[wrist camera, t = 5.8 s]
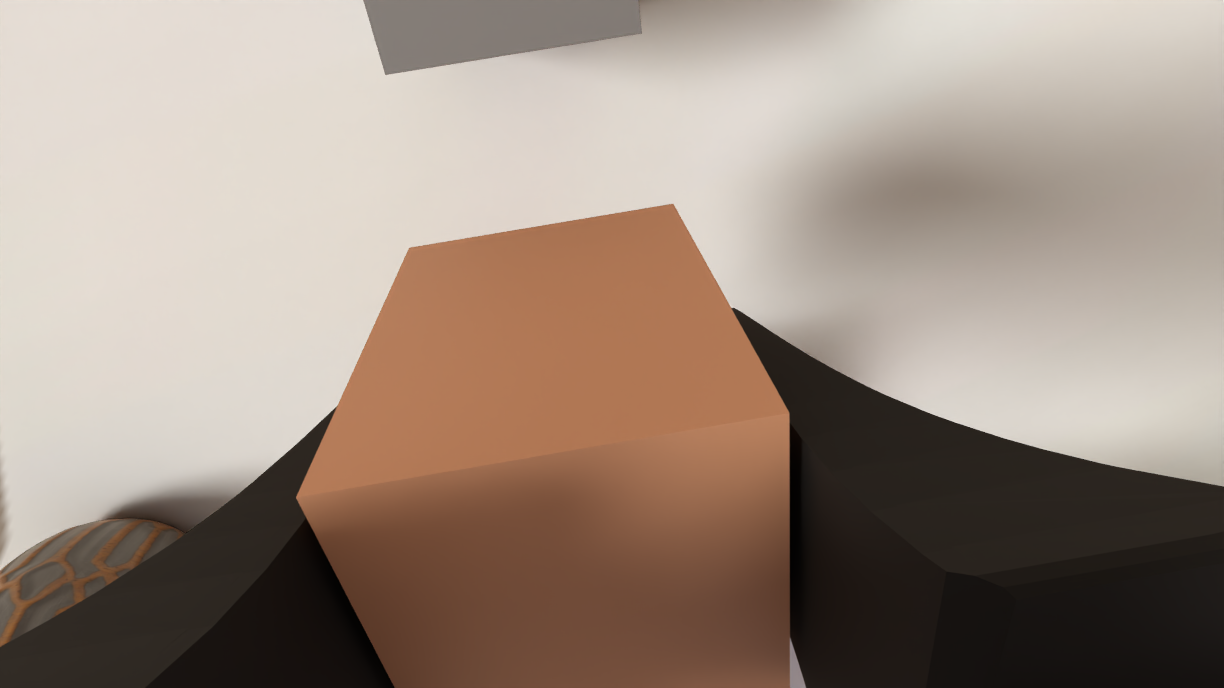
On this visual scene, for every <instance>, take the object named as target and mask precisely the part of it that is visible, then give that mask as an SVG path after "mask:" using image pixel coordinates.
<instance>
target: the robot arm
mask: <svg viewBox="0 0 1224 688" xmlns="http://www.w3.org/2000/svg"><path fill="white" fill-rule="evenodd" d="M731 309H732V311H733V312H734V314H735V316H736V318H737V320H738V321H739V323H740V325H741V327H742V329H743V330H744V332H745V334H746V336H747V338H748V339H749V341H750V343H751V345H752V347H753V348H754V350H755V352H756V354H757V356H758V357H759V359H760V361H761V363H762V365H763V366H764V368H765V370H766V372H767V374H768V375H769V377H770V379H771V381H772V383H773V384H774V386H775V388H776V390H777V391H778V393H779V395H780V397H781V399H782V400H783V402H784V404H785V406H786V408H787V409H788V411H789V444H790V688H1224V487H1223V486H1217V485H1212V484H1206V483H1201V482H1196V481H1190V480H1185V479H1179V478H1174V477H1168V476H1163V475H1158V474H1152V473H1147V472H1141V471H1136V470H1130V469H1125V468H1120V467H1115V466H1110V465H1105V464H1101V463H1097V462H1093V461H1088V460H1084V459H1080V458H1076V457H1072V456H1068V455H1064V454H1060V453H1056V452H1051V451H1047V450H1043V449H1040V448H1036V447H1032V446H1029V445H1025V444H1022V443H1018V442H1015V441H1011V440H1007V439H1004V438H1001V437H998V436H995V435H992V434H988V433H985V432H982V431H979V430H976V429H973V428H970V427H967V426H964V425H961V424H958V423H955V422H952V421H949V420H946V419H944V418H941V417H938V416H935V415H933V414H930V413H927V412H925V411H922V410H920V409H918V408H915V407H913V406H910V405H908V404H906V403H903V402H901V401H898V400H896V399H893V398H891V397H889V396H886V395H884V394H882V393H880V392H878V391H875V390H873V389H871V388H869V387H867V386H865V385H863V384H861V383H859V382H857V381H855V380H853V379H851V378H849V377H847V376H846V375H844V374H842V373H840V372H838V371H836V370H834V369H832V368H830V367H829V366H827V365H825V364H823V363H821V362H820V361H818V360H816V359H814V358H813V357H811V356H809V355H808V354H806V353H804V352H803V351H801V350H799V349H798V348H796V347H794V346H793V345H791V344H790V343H788V342H786V341H785V340H783V339H782V338H780V337H779V336H777V335H775V334H774V333H772V332H771V331H769V330H768V329H766V328H765V327H763V326H762V325H760V324H759V323H757V322H756V321H754V320H753V319H751V318H750V317H748V316H746V315H745V314H743V313H742V312H740V311H739V310H737V309H735V308H731ZM336 408H337V407H336ZM336 408H335V409H334V410H333V411H331V412H330V413H329V414H328V415H327V416H326V417H325V418H324V419H323V420H322V421H321V422H320V423H319V424H318V425H317V426H316V427H315V428H313V429H312V430H311V431H310V432H309V433H308V434H307V435H306V436H305V437H304V438H303V439H302V440H301V441H300V442H299V443H297V444H296V445H295V446H294V447H293V448H292V449H291V450H289V451H288V452H287V453H286V454H285V455H284V456H282V457H281V458H280V459H279V460H278V461H277V462H276V463H274V464H273V465H272V466H271V467H270V468H269V469H267V470H266V471H265V472H264V473H263V474H262V475H261V476H259V477H258V478H257V479H256V480H255V481H254V482H253V483H251V484H250V485H249V486H248V487H247V488H245V489H244V490H243V491H242V492H240V493H239V494H238V495H237V496H235V497H234V498H233V499H232V500H230V501H229V502H228V503H226V504H225V505H224V506H223V507H221V508H220V509H219V510H217V511H216V512H215V513H213V514H212V515H211V516H209V517H208V518H206V519H205V520H204V521H202V522H201V523H200V524H198V525H197V526H196V527H194V528H193V529H191V530H190V531H189V532H187V533H186V534H185V535H183V536H182V537H180V538H179V539H177V540H176V541H175V542H173V543H172V544H170V545H169V546H167V547H166V548H164V549H163V550H161V551H160V552H158V553H156V554H155V555H153V556H152V557H150V558H149V559H147V560H146V561H144V562H142V563H141V564H139V565H138V566H136V567H135V568H133V569H132V570H130V571H128V572H127V573H125V574H124V575H122V576H121V577H119V578H118V579H116V580H114V581H113V582H111V583H110V584H108V585H107V586H105V587H104V588H102V589H101V590H99V591H97V592H96V593H94V594H92V595H91V596H89V597H87V598H86V599H84V600H82V601H81V602H79V603H77V604H75V605H74V606H72V607H70V608H69V609H67V610H65V611H63V612H62V613H60V614H58V615H57V616H55V617H53V618H51V619H50V620H48V621H46V622H44V623H43V624H41V625H39V626H37V627H35V628H34V629H32V630H30V631H28V632H26V633H24V634H23V635H21V636H19V637H17V638H15V639H14V640H12V641H10V642H8V643H6V644H4V645H3V646H1V647H0V688H395V687H394V685H393V683H392V682H391V680H390V678H389V676H388V674H387V672H386V670H385V668H384V666H383V664H382V662H381V660H380V658H379V657H378V655H377V653H376V651H375V649H374V647H373V645H372V643H371V641H370V639H369V637H368V635H367V633H366V631H365V630H364V628H363V626H362V624H361V622H360V620H359V618H358V616H357V614H356V612H355V610H354V608H353V606H352V605H351V603H350V601H349V599H348V597H347V595H346V593H345V591H344V589H343V587H342V585H341V583H340V581H339V579H338V578H337V576H336V574H335V572H334V570H333V568H332V566H331V564H330V562H329V560H328V558H327V556H326V554H325V553H324V551H323V549H322V547H321V545H320V543H319V541H318V539H317V537H316V535H315V533H314V531H313V529H312V528H311V526H310V524H309V522H308V520H307V518H306V516H305V514H304V512H303V510H302V508H301V506H300V504H299V502H298V501H297V499H296V496H297V494H298V492H299V490H300V488H301V485H302V483H303V481H304V479H305V477H306V474H307V472H308V470H309V468H310V466H311V463H312V461H313V459H314V457H315V455H316V452H317V450H318V448H319V446H320V443H321V441H322V439H323V437H324V435H325V432H326V430H327V428H328V426H329V424H330V421H331V419H332V417H333V415H334V413H335V410H336Z"/></svg>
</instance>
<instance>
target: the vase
mask: <svg viewBox="0 0 1224 688" xmlns="http://www.w3.org/2000/svg"><path fill="white" fill-rule="evenodd" d="M183 535H185V533H183V532H182V531H180V530H178V529H176V528H174V527H172V526H169V525H166V524H163V523H160V522H156V521H152V520H146V519H131V518H128V519H111V520H101V521H95V522H91V523H87V524H83V525H80V526H76V527H72V528H69V529H67V530H64V531H62V532H60V533H58V534H56V535H54V536H51V537H49V538H47V539H45V540H43V541H42V542H40V543H38V544H37V545H35V546H33V547H32V548H30V549H29V550H27V551H25V552H24V553H22V554H21V555H20V556H18V557H17V558H16V559H14V560H13V561H11V562H10V563H9V564H7V565H6V566H5V567H4V568H3V569H1V570H0V647H1V646H3V645H4V644H6V643H8V642H10V641H12V640H14V639H15V638H17V637H19V636H21V635H23V634H24V633H26V632H28V631H30V630H32V629H34V628H35V627H37V626H39V625H41V624H43V623H44V622H46V621H48V620H50V619H51V618H53V617H55V616H57V615H58V614H60V613H62V612H63V611H65V610H67V609H69V608H70V607H72V606H74V605H75V604H77V603H79V602H81V601H82V600H84V599H86V598H87V597H89V596H91V595H92V594H94V593H96V592H97V591H99V590H101V589H102V588H104V587H105V586H107V585H108V584H110V583H111V582H113V581H114V580H116V579H118V578H119V577H121V576H122V575H124V574H125V573H127V572H128V571H130V570H132V569H133V568H135V567H136V566H138V565H139V564H141V563H142V562H144V561H146V560H147V559H149V558H150V557H152V556H153V555H155V554H156V553H158V552H160V551H161V550H163V549H164V548H166V547H167V546H169V545H170V544H172V543H173V542H175V541H176V540H177V539H179V538H180V537H182V536H183Z"/></svg>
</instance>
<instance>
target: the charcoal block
mask: <svg viewBox="0 0 1224 688" xmlns="http://www.w3.org/2000/svg"><path fill="white" fill-rule="evenodd" d="M364 4H365V7H366V11H367V14H368V17H369V21H370V24H371V28H372V31H373V34H374V38H375V41H376V45H377V48H378V51H379V55H380V58H381V62H382V65H383V68H384V72H385V75H388V74H394V73H400V72H406V71H413V70H419V69H425V68H431V67H437V66H443V65H450V64H456V63H462V62H468V61H474V60H480V59H487V58H493V57H499V56H505V55H511V54H518V53H524V52H530V51H536V50H542V49H548V48H555V47H561V46H567V45H573V44H579V43H585V42H592V41H598V40H604V39H610V38H616V37H622V36H629V35H635V34H641V33H642V29H641V20H640V10H639V0H364Z"/></svg>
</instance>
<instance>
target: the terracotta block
mask: <svg viewBox="0 0 1224 688" xmlns="http://www.w3.org/2000/svg"><path fill="white" fill-rule="evenodd" d="M296 499H297V501H298V502H299V504H300V506H301V508H302V510H303V512H304V514H305V516H306V518H307V520H308V522H309V524H310V526H311V528H312V529H313V531H314V533H315V535H316V537H317V539H318V541H319V543H320V545H321V547H322V549H323V551H324V553H325V554H326V556H327V558H328V560H329V562H330V564H331V566H332V568H333V570H334V572H335V574H336V576H337V578H338V579H339V581H340V583H341V585H342V587H343V589H344V591H345V593H346V595H347V597H348V599H349V601H350V603H351V605H352V606H353V608H354V610H355V612H356V614H357V616H358V618H359V620H360V622H361V624H362V626H363V628H364V630H365V631H366V633H367V635H368V637H369V639H370V641H371V643H372V645H373V647H374V649H375V651H376V653H377V655H378V657H379V658H380V660H381V662H382V664H383V666H384V668H385V670H386V672H387V674H388V676H389V678H390V680H391V682H392V683H393V685H394V687H395V688H790V444H789V411H788V409H787V408H786V406H785V404H784V402H783V400H782V399H781V397H780V395H779V393H778V391H777V390H776V388H775V386H774V384H773V383H772V381H771V379H770V377H769V375H768V374H767V372H766V370H765V368H764V366H763V365H762V363H761V361H760V359H759V357H758V356H757V354H756V352H755V350H754V348H753V347H752V345H751V343H750V341H749V339H748V338H747V336H746V334H745V332H744V330H743V329H742V327H741V325H740V323H739V321H738V320H737V318H736V316H735V314H734V312H733V311H732V309H731V307H730V305H729V303H728V302H727V300H726V298H725V296H724V294H723V293H722V291H721V289H720V287H719V285H718V284H717V282H716V280H715V278H714V276H713V275H712V273H711V271H710V269H709V267H708V266H707V264H706V262H705V260H704V258H703V257H702V255H701V253H700V251H699V249H698V248H697V246H696V244H695V242H694V240H693V239H692V237H691V235H690V233H689V231H688V230H687V228H686V226H685V224H684V222H683V221H682V219H681V217H680V215H679V213H678V212H677V210H676V208H675V206H674V204H669V205H663V206H657V207H651V208H645V209H639V210H633V211H627V212H621V213H615V214H609V215H603V216H597V217H591V218H585V219H579V220H573V221H567V222H561V223H555V224H549V225H543V226H537V227H531V228H525V229H519V230H513V231H507V232H501V233H495V234H489V235H484V236H478V237H472V238H466V239H460V240H454V241H448V242H442V243H436V244H430V245H424V246H418V247H412V248H409V250H408V252H407V254H406V256H405V258H404V261H403V263H402V265H401V267H400V269H399V272H398V274H397V276H396V278H395V280H394V283H393V285H392V287H391V289H390V291H389V294H388V296H387V298H386V300H385V302H384V305H383V307H382V309H381V311H380V313H379V316H378V318H377V320H376V322H375V325H374V327H373V329H372V331H371V333H370V336H369V338H368V340H367V342H366V344H365V347H364V349H363V351H362V353H361V355H360V358H359V360H358V362H357V364H356V366H355V369H354V371H353V373H352V375H351V377H350V380H349V382H348V384H347V386H346V388H345V391H344V393H343V395H342V397H341V399H340V402H339V404H338V406H337V408H336V410H335V413H334V415H333V417H332V419H331V421H330V424H329V426H328V428H327V430H326V432H325V435H324V437H323V439H322V441H321V443H320V446H319V448H318V450H317V452H316V455H315V457H314V459H313V461H312V463H311V466H310V468H309V470H308V472H307V474H306V477H305V479H304V481H303V483H302V485H301V488H300V490H299V492H298V494H297V496H296Z"/></svg>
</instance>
